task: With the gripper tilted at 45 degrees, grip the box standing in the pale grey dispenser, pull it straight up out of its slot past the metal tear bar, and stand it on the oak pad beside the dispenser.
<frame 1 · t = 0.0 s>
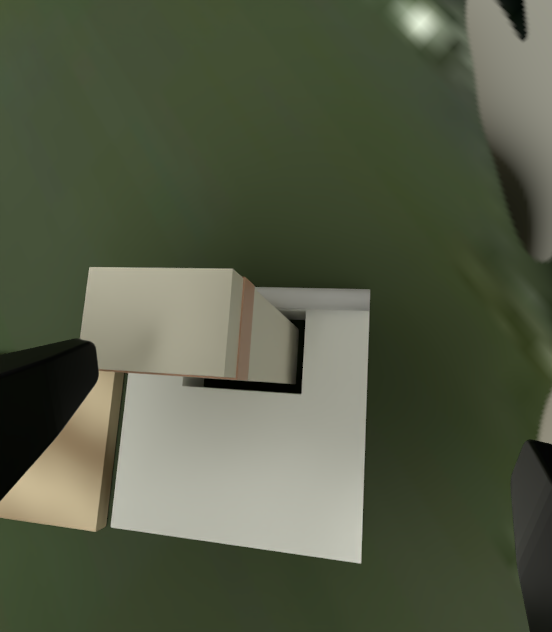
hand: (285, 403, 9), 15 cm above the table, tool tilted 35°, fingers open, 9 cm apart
dispenser: (253, 408, 24), on the table
box: (257, 354, 25), resting in dispenser
pad: (47, 436, 26), on the table
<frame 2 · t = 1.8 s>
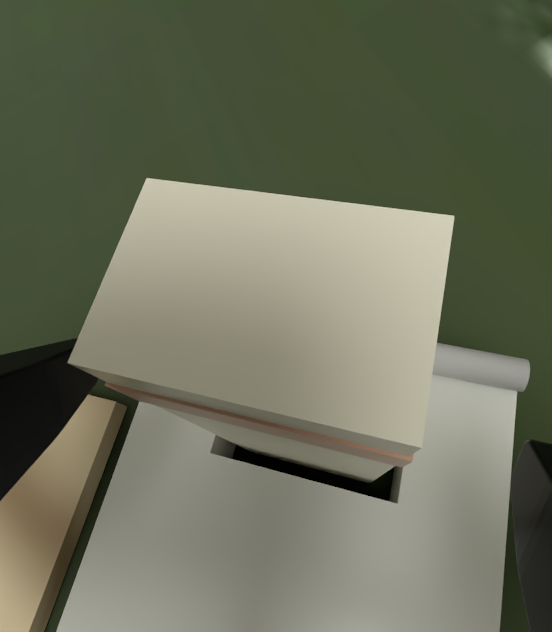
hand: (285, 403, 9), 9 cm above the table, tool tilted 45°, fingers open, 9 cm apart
dispenser: (300, 508, 16), on the table
box: (318, 428, 17), resting in dispenser
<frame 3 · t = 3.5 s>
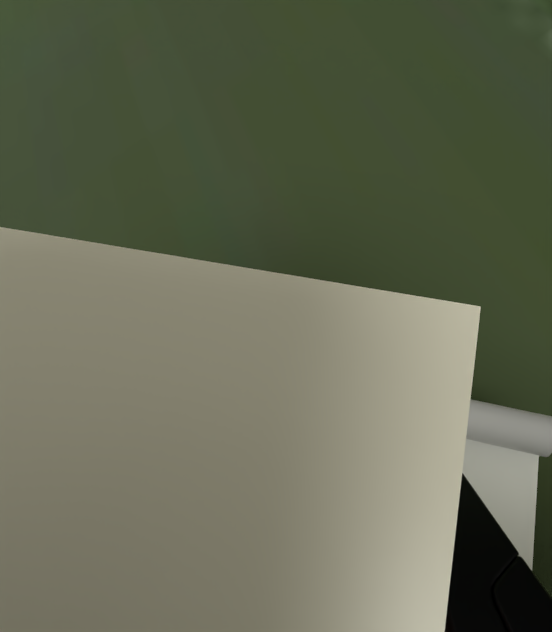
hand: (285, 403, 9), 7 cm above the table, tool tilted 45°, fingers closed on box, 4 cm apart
dispenser: (279, 580, 14), on the table
box: (301, 480, 15), resting in dispenser, touching gripper
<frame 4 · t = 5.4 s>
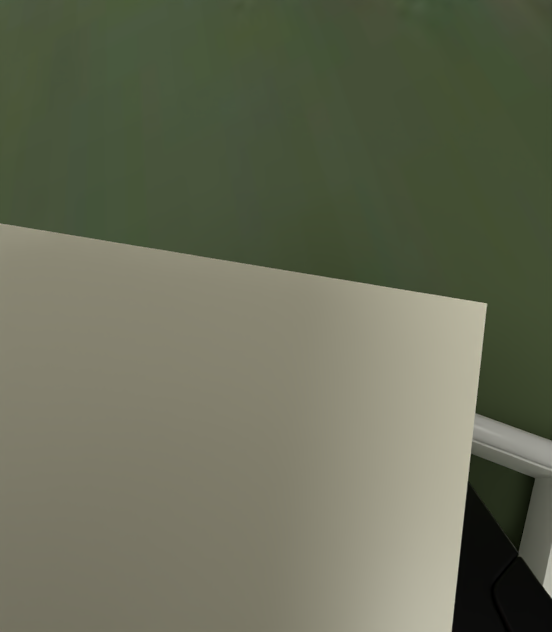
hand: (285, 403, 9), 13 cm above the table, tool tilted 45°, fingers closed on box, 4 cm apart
dispenser: (434, 563, 19), on the table
box: (302, 480, 15), point 7 cm above the table, touching gripper
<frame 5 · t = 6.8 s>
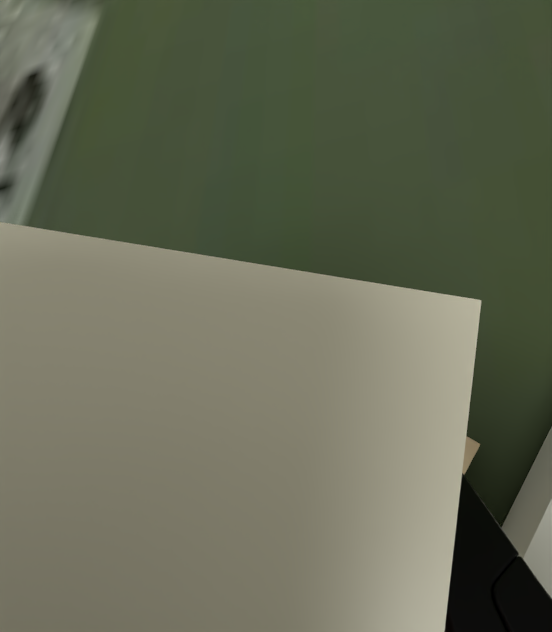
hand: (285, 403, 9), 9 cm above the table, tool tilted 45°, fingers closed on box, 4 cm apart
box: (301, 479, 15), point 3 cm above the table, touching gripper
pad: (308, 480, 17), on the table
when the fingers open (9 cm above the table, at t = 7.7 s): box stays where it is, resting on pad.
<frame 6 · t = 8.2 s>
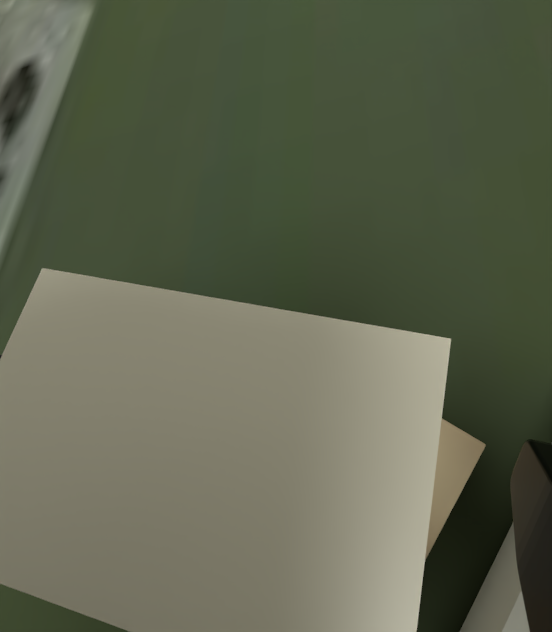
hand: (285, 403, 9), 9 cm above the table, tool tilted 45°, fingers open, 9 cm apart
box: (303, 479, 16), point 1 cm above the table, touching pad
pad: (306, 482, 17), on the table
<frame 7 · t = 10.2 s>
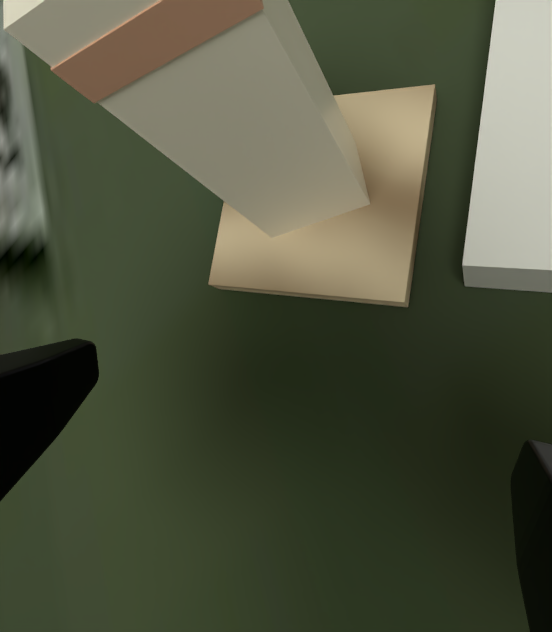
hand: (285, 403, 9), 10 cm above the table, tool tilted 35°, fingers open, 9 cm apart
box: (312, 190, 19), point 1 cm above the table, touching pad
pad: (320, 201, 20), on the table
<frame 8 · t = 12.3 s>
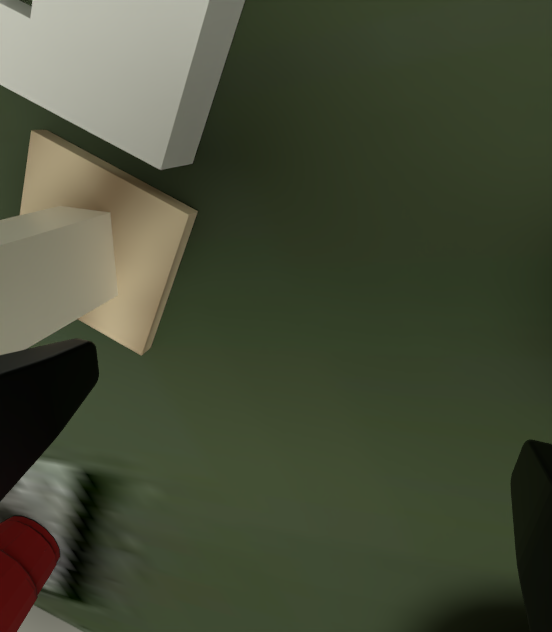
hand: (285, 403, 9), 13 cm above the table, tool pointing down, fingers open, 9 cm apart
box: (89, 251, 24), point 1 cm above the table, touching pad
plastic cup: (33, 539, 39), on the table
pad: (102, 246, 25), on the table
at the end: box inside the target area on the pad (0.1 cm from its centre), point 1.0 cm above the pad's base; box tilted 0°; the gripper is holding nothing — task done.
